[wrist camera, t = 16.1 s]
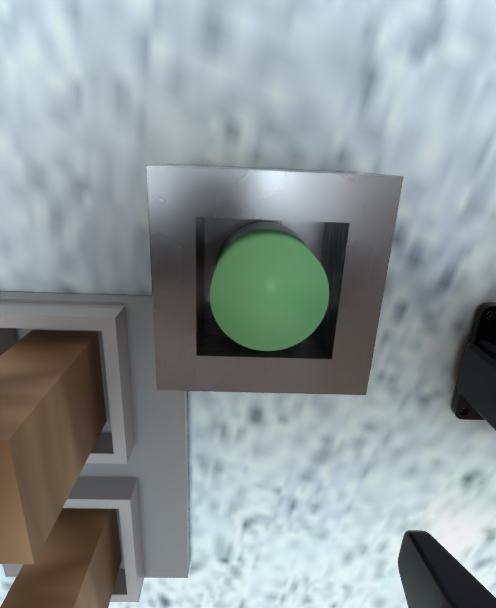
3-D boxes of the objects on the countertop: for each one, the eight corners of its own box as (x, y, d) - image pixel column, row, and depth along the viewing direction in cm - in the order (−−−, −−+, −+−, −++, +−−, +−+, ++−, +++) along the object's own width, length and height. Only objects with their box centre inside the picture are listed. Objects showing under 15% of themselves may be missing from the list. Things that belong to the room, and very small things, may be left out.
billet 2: (114, 495, 22) (54, 658, 14) (121, 559, 23) (71, 732, 16) (60, 495, 21) (-28, 658, 14) (71, 559, 23) (-2, 733, 16)
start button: (315, 223, 16) (336, 240, 12) (306, 315, 17) (322, 352, 14) (216, 219, 15) (210, 235, 12) (214, 312, 17) (209, 349, 14)
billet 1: (97, 331, 18) (8, 440, 11) (106, 420, 20) (34, 563, 13) (32, 329, 18) (-101, 438, 11) (47, 419, 20) (-60, 563, 13)
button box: (357, 172, 17) (403, 176, 12) (335, 338, 20) (365, 394, 15) (172, 164, 17) (146, 165, 12) (176, 334, 19) (156, 390, 15)
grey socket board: (185, 296, 19) (178, 316, 16) (189, 561, 25) (184, 603, 22) (-49, 289, 18) (-91, 308, 16) (14, 560, 24) (-9, 603, 22)
